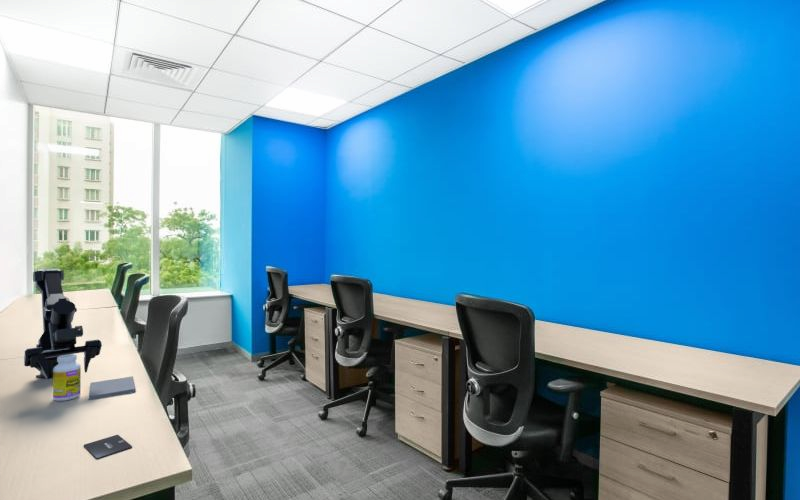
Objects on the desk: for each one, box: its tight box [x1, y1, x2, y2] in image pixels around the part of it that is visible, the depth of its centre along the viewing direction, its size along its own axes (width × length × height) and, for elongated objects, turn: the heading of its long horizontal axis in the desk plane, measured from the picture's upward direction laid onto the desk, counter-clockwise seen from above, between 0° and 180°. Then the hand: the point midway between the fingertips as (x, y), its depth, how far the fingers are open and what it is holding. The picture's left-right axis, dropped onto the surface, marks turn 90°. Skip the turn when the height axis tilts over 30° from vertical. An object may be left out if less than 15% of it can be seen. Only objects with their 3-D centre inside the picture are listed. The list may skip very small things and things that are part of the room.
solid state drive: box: [83, 434, 133, 460], centre depth 97 cm, size 7×10×1 cm
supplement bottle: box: [52, 354, 82, 402], centre depth 129 cm, size 7×7×13 cm
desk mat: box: [88, 375, 137, 401], centre depth 137 cm, size 16×12×1 cm
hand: (67, 375), depth 128 cm, fingers open, 9 cm apart
